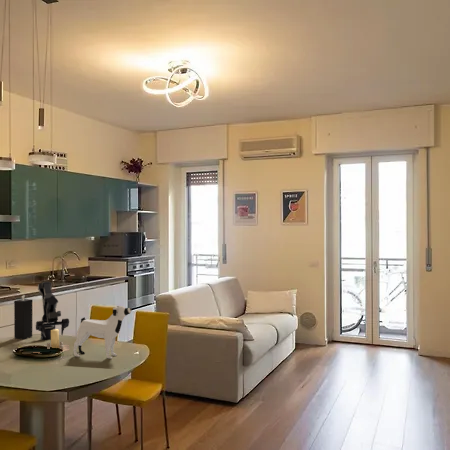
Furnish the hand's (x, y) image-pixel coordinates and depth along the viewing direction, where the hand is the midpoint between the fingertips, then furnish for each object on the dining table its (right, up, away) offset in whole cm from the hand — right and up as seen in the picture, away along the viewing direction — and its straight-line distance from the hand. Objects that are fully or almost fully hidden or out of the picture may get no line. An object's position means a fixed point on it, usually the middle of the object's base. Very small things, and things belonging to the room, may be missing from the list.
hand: (54, 336), depth 274 cm
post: (+2, -6, -3) cm, 8 cm away
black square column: (-30, -8, +28) cm, 42 cm away
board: (-3, -8, -5) cm, 10 cm away
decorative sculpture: (+34, -8, -16) cm, 38 cm away
